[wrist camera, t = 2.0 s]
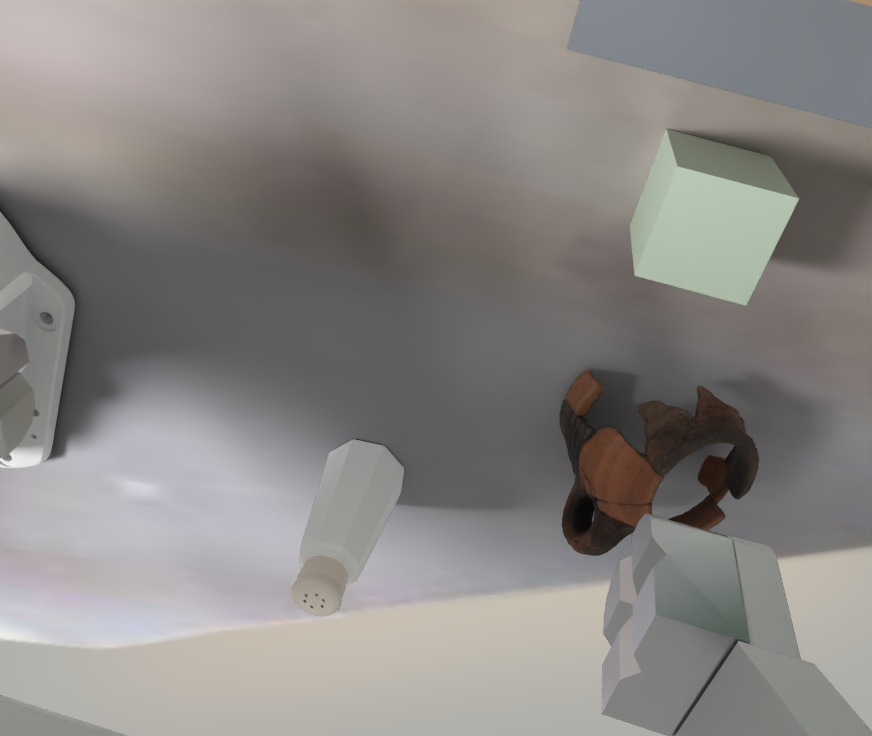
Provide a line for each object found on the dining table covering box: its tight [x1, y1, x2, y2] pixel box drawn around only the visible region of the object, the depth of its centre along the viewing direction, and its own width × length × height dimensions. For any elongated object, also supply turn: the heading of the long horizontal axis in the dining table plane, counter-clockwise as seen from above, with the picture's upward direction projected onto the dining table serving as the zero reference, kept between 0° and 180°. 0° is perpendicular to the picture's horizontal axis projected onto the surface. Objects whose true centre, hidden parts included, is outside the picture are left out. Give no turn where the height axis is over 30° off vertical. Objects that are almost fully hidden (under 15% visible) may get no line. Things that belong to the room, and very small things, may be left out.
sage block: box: [630, 129, 799, 306], centre depth 34 cm, size 5×5×6 cm
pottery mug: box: [560, 370, 759, 556], centre depth 42 cm, size 12×9×8 cm
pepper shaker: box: [291, 439, 404, 616], centre depth 45 cm, size 5×5×11 cm
